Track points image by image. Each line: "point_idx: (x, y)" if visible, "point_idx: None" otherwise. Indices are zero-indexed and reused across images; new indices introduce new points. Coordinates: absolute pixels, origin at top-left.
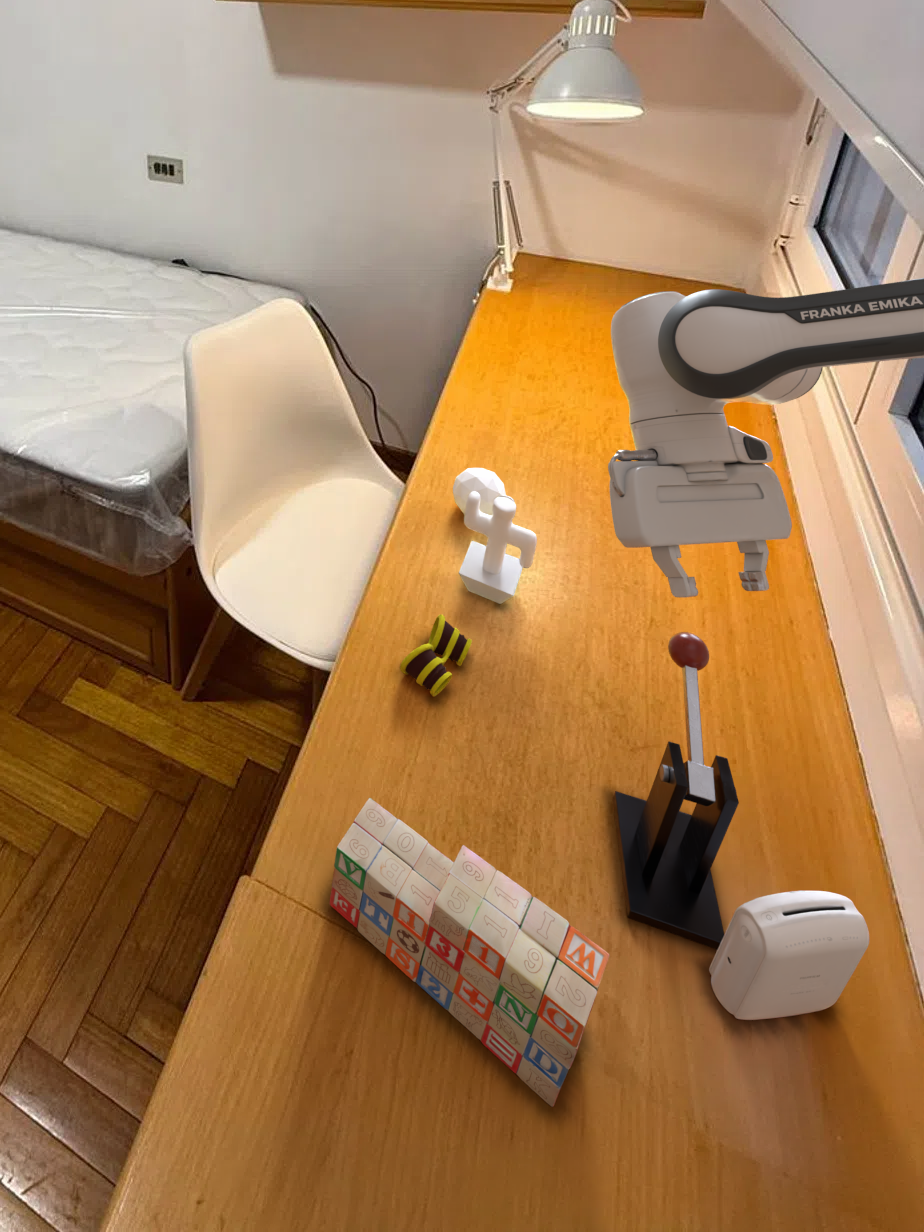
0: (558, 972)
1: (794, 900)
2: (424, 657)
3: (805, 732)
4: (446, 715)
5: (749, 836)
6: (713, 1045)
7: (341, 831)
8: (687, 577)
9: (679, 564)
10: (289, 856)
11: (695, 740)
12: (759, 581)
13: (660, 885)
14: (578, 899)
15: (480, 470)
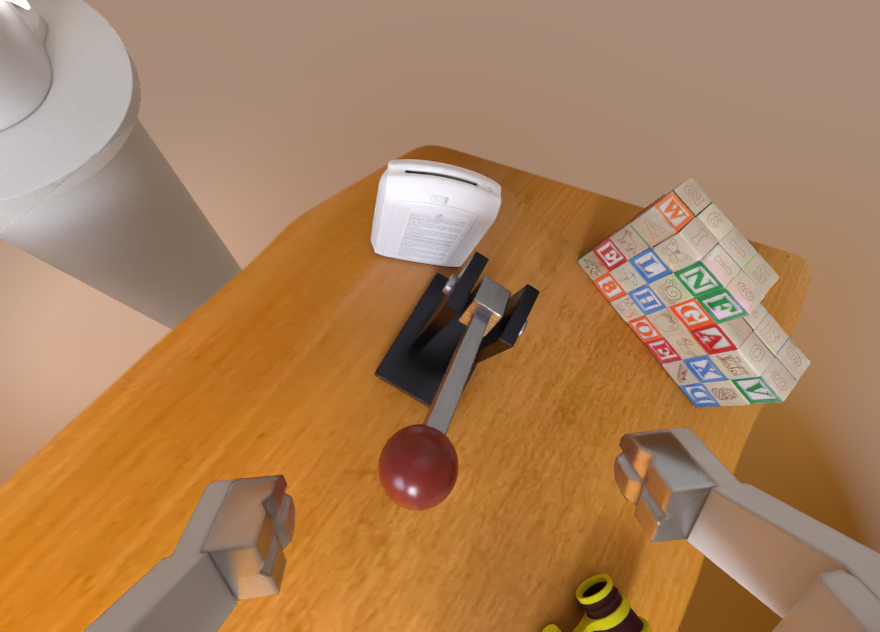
0: (698, 208)
1: (459, 186)
2: (632, 626)
3: (105, 461)
4: (582, 547)
5: (324, 353)
6: (486, 233)
7: (706, 430)
8: (716, 483)
9: (809, 533)
10: (745, 417)
11: (474, 337)
12: (251, 503)
13: (463, 324)
14: (531, 338)
15: None
